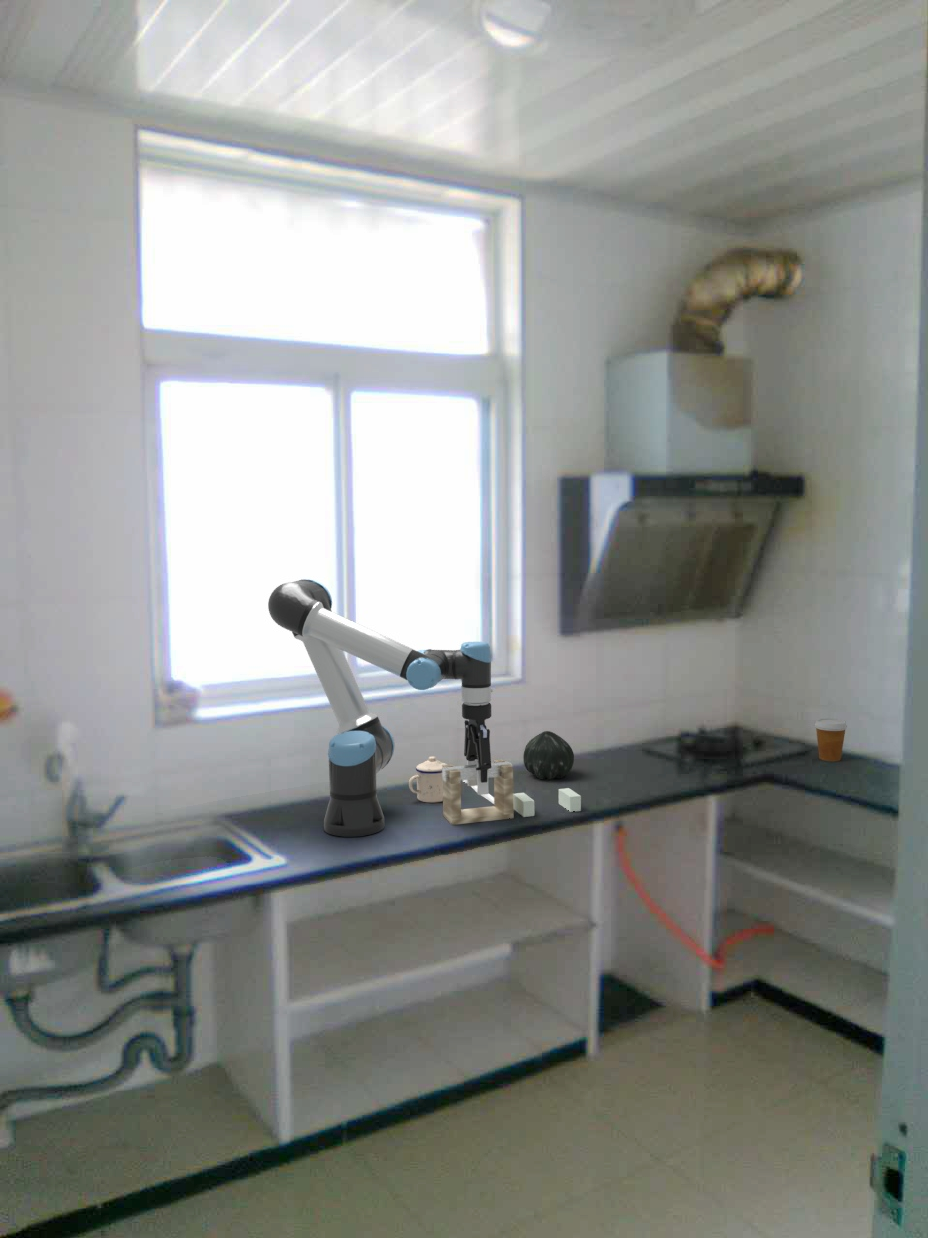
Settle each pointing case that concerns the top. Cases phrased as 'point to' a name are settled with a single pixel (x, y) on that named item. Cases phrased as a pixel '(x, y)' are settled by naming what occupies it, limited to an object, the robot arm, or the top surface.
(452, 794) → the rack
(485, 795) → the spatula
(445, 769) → the rail
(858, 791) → the top surface
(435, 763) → the teacup with lid
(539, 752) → the squash
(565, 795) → the rest
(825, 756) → the disposable coffee cup
